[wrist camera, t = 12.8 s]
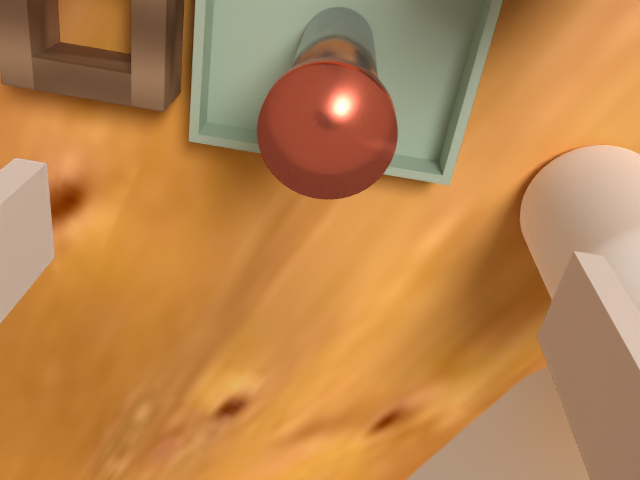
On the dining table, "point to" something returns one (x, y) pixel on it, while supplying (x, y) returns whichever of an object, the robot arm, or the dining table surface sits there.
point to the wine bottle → (586, 214)
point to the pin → (329, 112)
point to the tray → (391, 57)
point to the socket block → (94, 55)
